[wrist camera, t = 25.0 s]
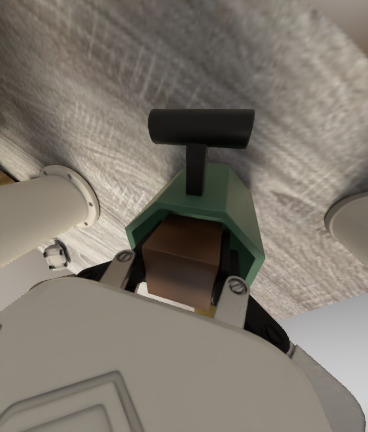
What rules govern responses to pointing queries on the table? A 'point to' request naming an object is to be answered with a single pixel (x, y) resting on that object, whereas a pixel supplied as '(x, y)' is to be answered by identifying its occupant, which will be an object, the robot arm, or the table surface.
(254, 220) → the green octagonal container
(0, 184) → the plush toy
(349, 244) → the travel mug
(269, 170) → the table surface
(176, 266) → the block
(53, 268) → the toy car
